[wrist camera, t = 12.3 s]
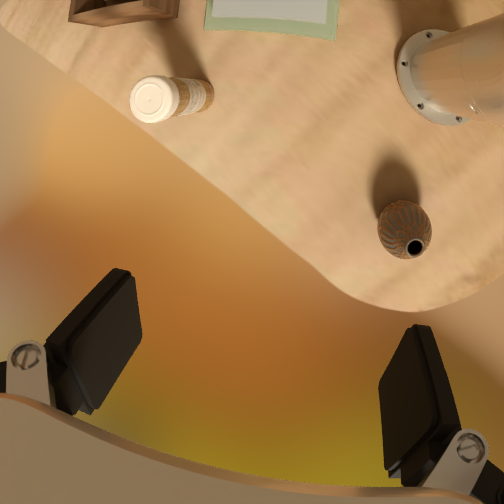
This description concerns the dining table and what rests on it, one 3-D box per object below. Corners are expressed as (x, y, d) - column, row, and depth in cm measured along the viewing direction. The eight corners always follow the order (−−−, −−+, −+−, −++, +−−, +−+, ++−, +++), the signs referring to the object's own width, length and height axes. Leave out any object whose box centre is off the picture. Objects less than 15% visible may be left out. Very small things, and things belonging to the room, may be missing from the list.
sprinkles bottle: (175, 97, 38) (119, 103, 26) (197, 71, 36) (147, 65, 24) (199, 119, 39) (150, 133, 27) (223, 94, 37) (181, 95, 25)
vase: (424, 195, 38) (447, 220, 30) (417, 242, 41) (436, 275, 33) (375, 192, 39) (389, 216, 31) (371, 240, 42) (382, 274, 34)
